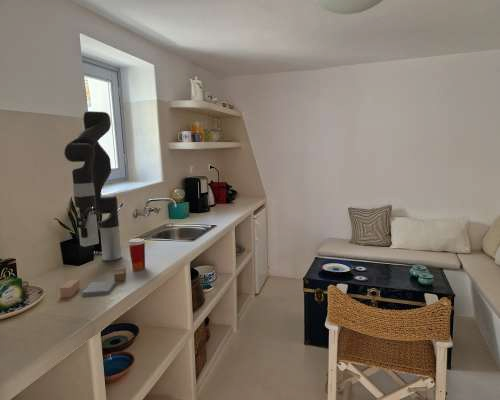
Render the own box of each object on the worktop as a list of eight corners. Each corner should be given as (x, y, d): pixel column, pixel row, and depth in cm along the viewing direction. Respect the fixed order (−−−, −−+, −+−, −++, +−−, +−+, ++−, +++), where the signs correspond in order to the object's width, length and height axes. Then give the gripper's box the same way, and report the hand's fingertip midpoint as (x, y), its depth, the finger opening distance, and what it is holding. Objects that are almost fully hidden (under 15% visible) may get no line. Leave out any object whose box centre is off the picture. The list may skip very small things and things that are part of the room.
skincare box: (94, 242, 141) (91, 213, 140) (99, 243, 139) (96, 214, 137) (79, 245, 137) (76, 216, 135) (84, 247, 134) (81, 217, 132)
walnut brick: (116, 276, 153) (115, 268, 152) (126, 275, 154) (125, 267, 153) (114, 283, 145) (114, 274, 145) (124, 282, 146) (124, 273, 146)
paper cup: (139, 265, 167) (137, 237, 165) (150, 267, 163) (148, 239, 161) (126, 270, 160) (124, 241, 158) (137, 272, 156) (135, 243, 154)
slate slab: (91, 287, 143) (91, 282, 142) (116, 285, 144) (116, 280, 143) (82, 297, 133) (82, 292, 133) (109, 295, 134) (108, 290, 134)
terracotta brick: (70, 289, 140) (68, 280, 139) (80, 288, 140) (79, 279, 140) (60, 297, 132) (59, 288, 132) (71, 297, 132) (70, 287, 132)
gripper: (82, 192, 142) (86, 231, 144) (66, 197, 128) (71, 240, 130) (100, 192, 142) (104, 230, 144) (86, 196, 128) (91, 239, 130)
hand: (88, 235), depth 137 cm, fingers closed on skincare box, 7 cm apart
